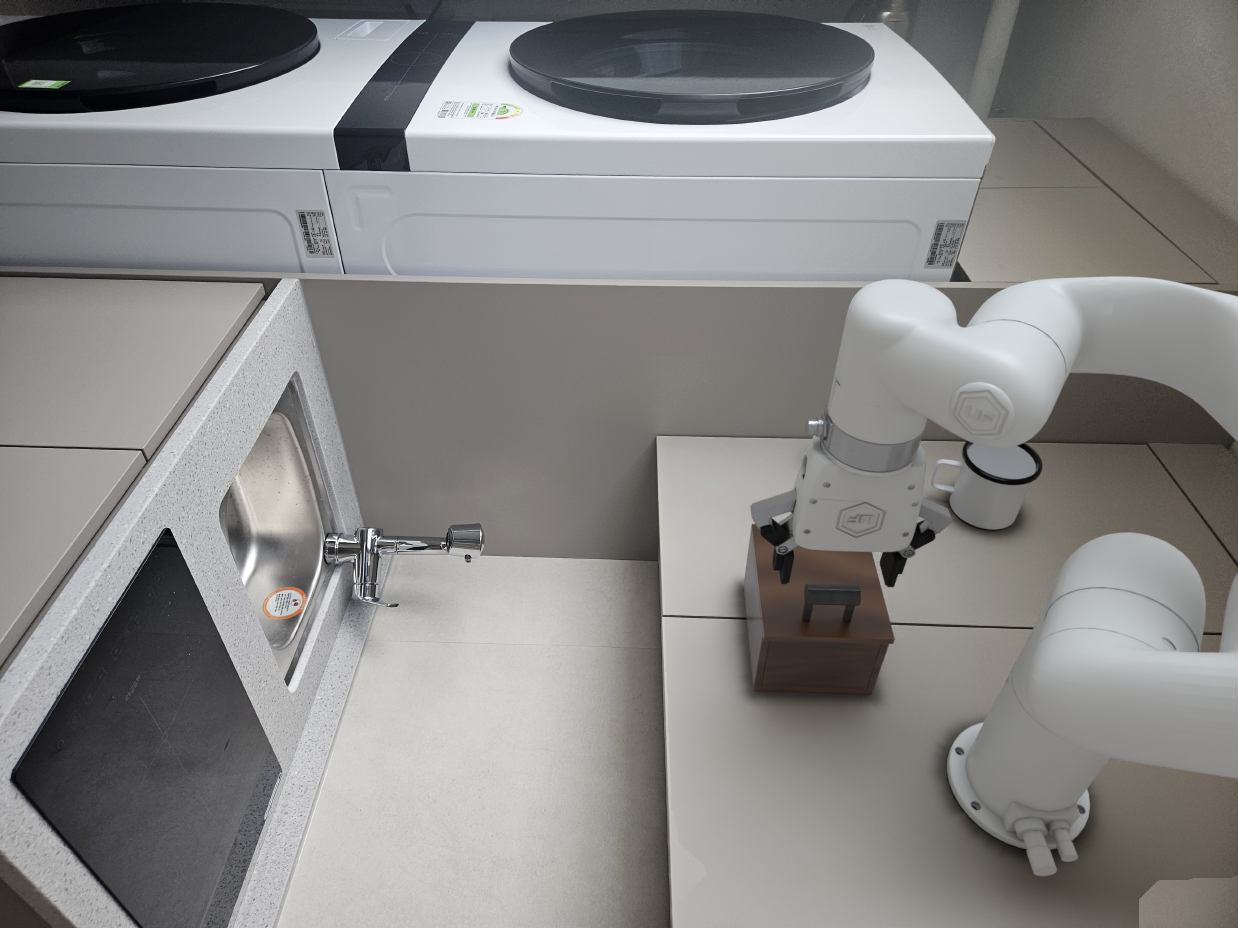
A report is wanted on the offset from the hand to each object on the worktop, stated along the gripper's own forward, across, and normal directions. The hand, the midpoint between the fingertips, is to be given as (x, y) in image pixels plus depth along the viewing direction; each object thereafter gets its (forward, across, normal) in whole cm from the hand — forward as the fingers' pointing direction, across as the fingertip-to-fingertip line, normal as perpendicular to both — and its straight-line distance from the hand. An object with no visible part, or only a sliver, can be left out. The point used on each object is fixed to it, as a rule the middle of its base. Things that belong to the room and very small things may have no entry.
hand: (834, 574), depth 76 cm
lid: (+7, 0, +5) cm, 9 cm away
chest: (+17, 0, +6) cm, 18 cm away
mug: (+17, +25, +28) cm, 41 cm away
